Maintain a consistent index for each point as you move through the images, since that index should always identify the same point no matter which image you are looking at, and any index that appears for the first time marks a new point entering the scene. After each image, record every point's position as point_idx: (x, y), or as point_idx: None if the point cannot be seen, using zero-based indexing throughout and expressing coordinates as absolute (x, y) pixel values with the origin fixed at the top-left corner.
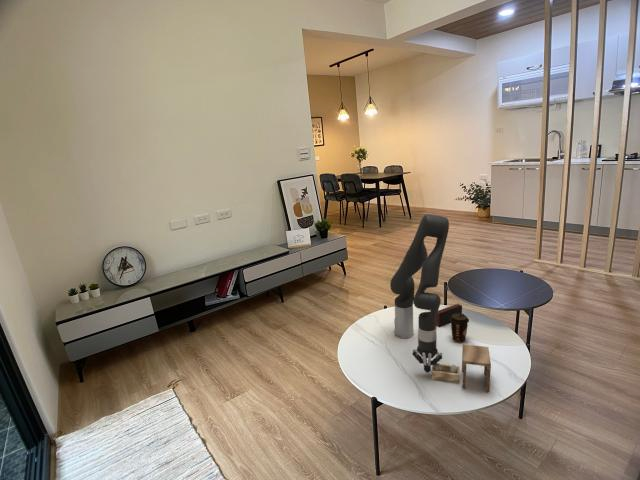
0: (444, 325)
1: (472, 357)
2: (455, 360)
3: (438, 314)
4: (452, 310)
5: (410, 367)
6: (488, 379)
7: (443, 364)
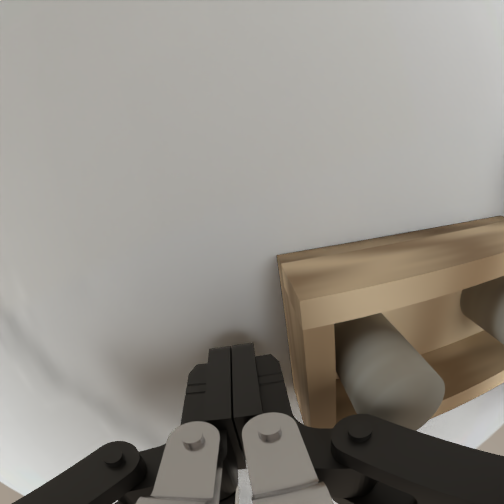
0: None
1: None
2: (443, 10)
3: None
4: None
5: (43, 289)
6: None
7: (455, 270)
